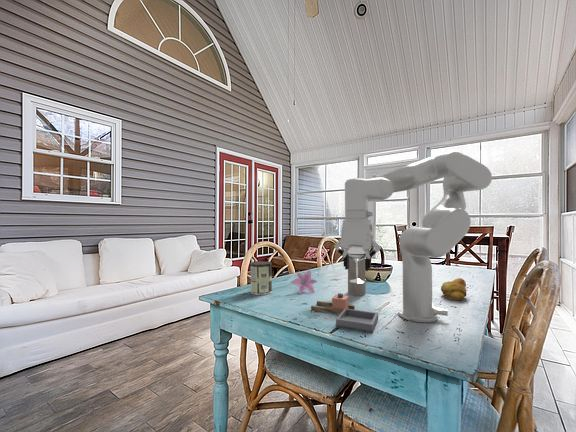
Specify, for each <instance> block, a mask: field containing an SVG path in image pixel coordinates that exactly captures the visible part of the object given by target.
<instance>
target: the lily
mask: <svg viewBox="0 0 576 432" xmlns="http://www.w3.org/2000/svg"><path fill="white" fill-rule="evenodd" d="M296 276H297V278H295V279H294V280H291V281H290V284H292V285H294V286H295V287H298V294H300V295H301V294H302V293H303V292H305V290H306V291H308V292H309V293H311V294H313V295H314V294H315V290H314V286H313V285H315V284H316V283H318V280H316V279H313V278H312V271H311V269H308V270H306V271H305V273H303V274H302V273H300V272H298V271H296Z"/></svg>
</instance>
